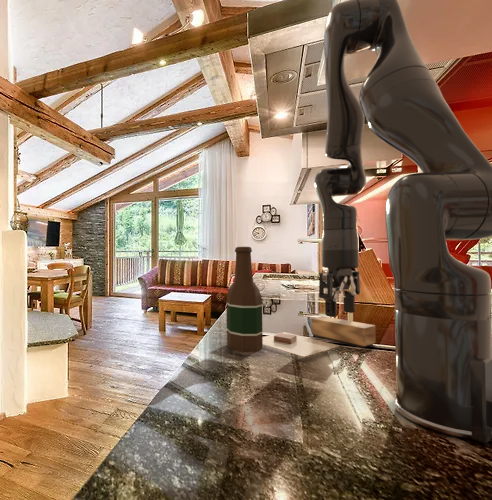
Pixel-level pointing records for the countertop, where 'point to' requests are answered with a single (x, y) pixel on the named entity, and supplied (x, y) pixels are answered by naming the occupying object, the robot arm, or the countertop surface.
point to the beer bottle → (244, 307)
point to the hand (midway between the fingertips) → (340, 314)
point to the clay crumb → (285, 338)
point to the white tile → (299, 345)
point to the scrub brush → (344, 331)
